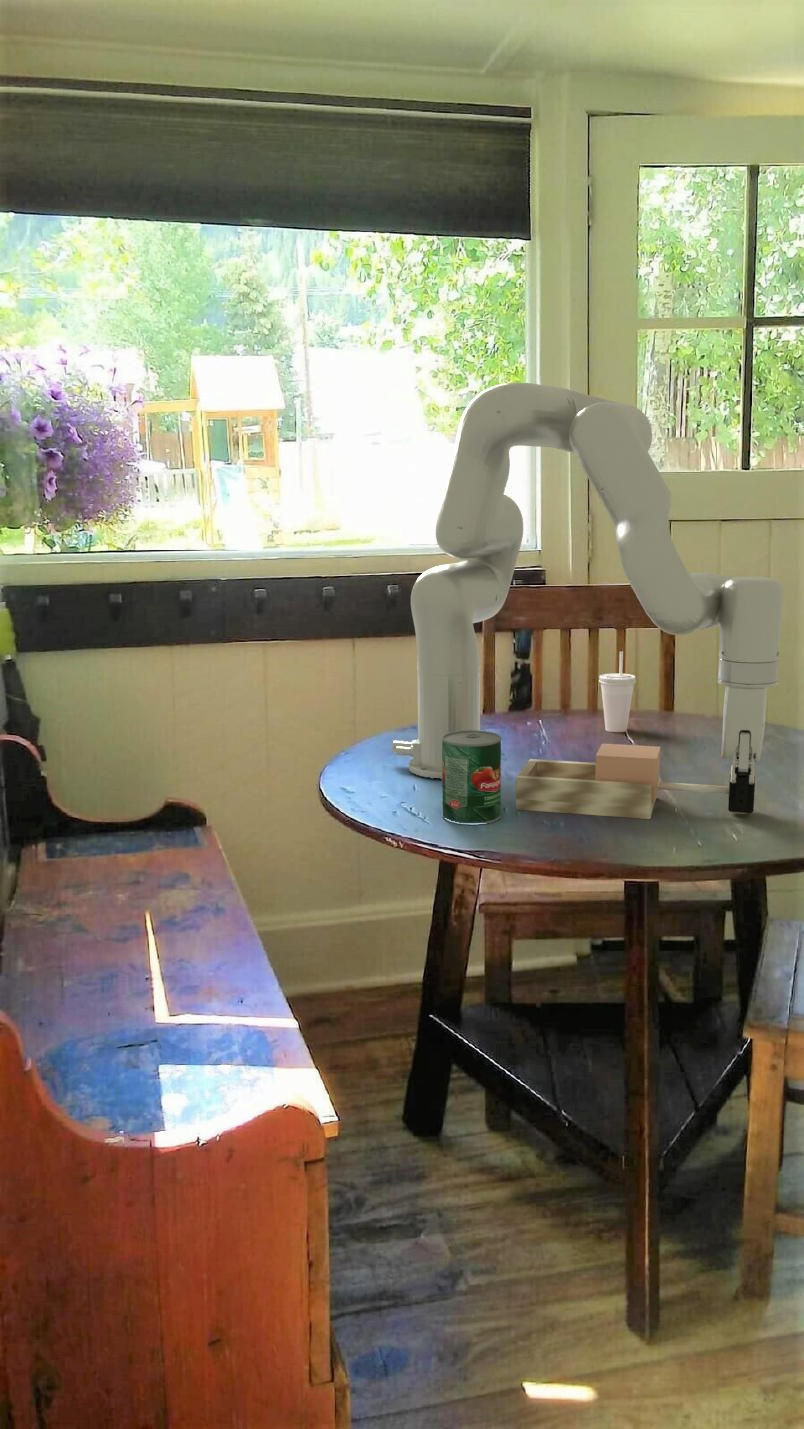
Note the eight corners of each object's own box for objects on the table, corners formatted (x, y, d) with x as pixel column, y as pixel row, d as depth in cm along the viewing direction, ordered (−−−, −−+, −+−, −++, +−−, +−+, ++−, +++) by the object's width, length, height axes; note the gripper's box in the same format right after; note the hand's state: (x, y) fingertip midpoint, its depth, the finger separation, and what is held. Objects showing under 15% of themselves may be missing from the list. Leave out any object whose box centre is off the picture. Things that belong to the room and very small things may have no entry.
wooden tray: (515, 809, 157) (516, 777, 156) (529, 788, 167) (530, 758, 166) (650, 819, 152) (651, 786, 151) (656, 797, 162) (657, 766, 161)
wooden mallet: (594, 807, 155) (595, 755, 154) (600, 793, 162) (601, 743, 160) (752, 818, 150) (755, 764, 148) (752, 803, 156) (755, 751, 155)
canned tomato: (498, 826, 149) (498, 744, 147) (438, 824, 151) (437, 743, 148) (503, 809, 157) (503, 731, 155) (446, 807, 158) (445, 729, 156)
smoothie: (637, 733, 200) (640, 654, 197) (600, 734, 201) (602, 654, 198) (630, 725, 207) (633, 648, 204) (595, 726, 207) (597, 649, 204)
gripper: (719, 661, 158) (713, 789, 162) (716, 682, 143) (709, 823, 147) (776, 663, 156) (769, 793, 160) (779, 685, 141) (771, 828, 145)
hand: (740, 806), depth 153 cm, fingers closed on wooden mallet, 3 cm apart
